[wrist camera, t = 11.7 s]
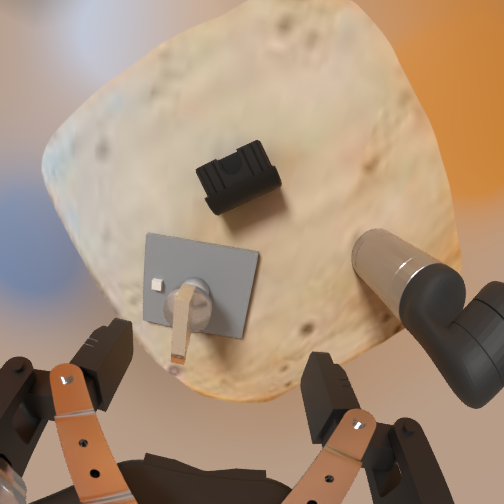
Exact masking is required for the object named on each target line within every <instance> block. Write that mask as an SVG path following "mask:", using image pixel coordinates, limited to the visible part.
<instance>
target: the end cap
mask: <svg viewBox="0 0 504 504" xmlns="http://www.w3.org/2000/svg"><path fill="white" fill-rule="evenodd" d="M236 150H237V152H235V153H233V154H231V155H229V156H227V157H225V158H223V159H221V160H216V159H215V160H213V161H211V162H209V163H207V164H205V165H203V166H201V167H199V168H197V169H196V173H197V176H198V178H199V180H200V182H201V184H202V186H203V188H204V190H205V192H206V194H207V197H206V198H205V201H206V202H207V204H208V206H209V207H210V209H211V210H212V212H213V213H214V214H215V215H220V214H222V213H224V212H226V211H228V210H230V209H233V208H235V207H237V206H239V205H241V204H243V203H245V202H248V201H250V200H252V199H254V198H256V197H258V196H261V195H263V194H265V193H267V192H269V191H272V190H274V189H276V188H278V187H281V185H282V183H281V179H280V177H279V174H278V172H277V169H276V167H275V166H272V165H271V163H270V161H269V159H268V157H267V155H266V152H265V150H264V148H263V146H262V144H261V142H260V141H258V140H256V141H253V142H251V143H249V144H247V145H244V146H242V147H240V148H238V149H236Z"/></svg>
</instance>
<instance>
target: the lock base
mask: <svg viewBox="0 0 504 504" xmlns="http://www.w3.org/2000/svg"><path fill="white" fill-rule="evenodd" d="M258 254H259V253H258V251H253V250H247V249H241V248H235V247H229V246H223V245H218V244H212V243H206V242H200V241H194V240H188V239H182V238H177V237H171V236H165V235H159V234H153V233H148V234H146V245H145V261H144V285H143V320H144V321H148V322H153V323H157V324H162V325H167V326H171V325H170V324H169V323H168V322H167V321H166V319H165V317H164V313H163V306H164V303H165V301H166V299H167V297H168V295H169V294H170V292H171V291H172V290H173V289H174V288H175V287H177V286H180V285H182V284H190V285H195V286H197V287H199V288H201V289H203V290H204V291H205V292H206V293H207V294H208V296H209V297H210V299H211V302H212V312H211V316H210V321H209V323H208V325H207V326H206V327H205V328H204V329H203V330H201V331H199V332H203V333H209V334H214V335H220V336H227V337H233V338H240V339H241V338H242V333H243V328H244V323H245V318H246V313H247V309H248V304H249V299H250V294H251V289H252V284H253V279H254V274H255V269H256V264H257V259H258Z"/></svg>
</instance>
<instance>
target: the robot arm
mask: <svg viewBox="0 0 504 504" xmlns="http://www.w3.org/2000/svg"><path fill="white" fill-rule="evenodd" d="M352 265H353V268H354V270H355V272H356V273H357V274H358V275H359V276H360V277H361V278H362V279H363V280H364V282H365V283H366V284H367V285H368V286H369V287H370V288H371V289H372V290H373V292H374V293H375V294H376V295H377V296H378V297H379V298H380V299H381V300H382V302H383V303H384V304H385V305H386V306H387V307H388V308H389V309H390V311H391V312H392V313H393V314H394V315H395V316H396V317H397V318H398V319H399V321H400V322H401V323H402V324H403V325H404V326H405V328H406V329H407V330H408V331H409V332H410V333H411V334H412V335H413V336H414V338H415V339H416V340H417V341H418V342H419V343H420V345H421V346H422V347H423V348H424V350H425V351H426V352H427V354H428V355H429V357H430V358H431V359H432V361H433V362H434V364H435V365H436V367H437V368H438V370H439V371H440V373H441V374H442V376H443V377H444V379H445V380H446V382H447V383H448V385H449V386H450V388H451V389H452V390H453V392H454V393H455V394H456V395H457V397H458V398H459V399H460V400H461V401H462V402H463V403H464V404H465V405H467V406H469V407H471V408H474V409H478V408H481V407H483V406H484V405H486V404H487V403H488V402H489V401H490V400H491V399H492V398H493V397H494V396H495V395H496V394H497V393H498V392H499V391H500V390H501V389H502V388H503V387H504V283H502V282H498V281H492V282H490V283H488V284H487V285H486V286H484V287H483V288H482V289H481V291H480V292H479V293H478V294H477V295H476V296H475V298H474V299H473V300H472V301H471V302H470V303H469V304H468V305H467V306H466V307H465V308H464V310H463V307H464V303H465V298H466V289H465V284H464V281H463V279H462V277H461V276H460V275H459V273H458V272H456V271H455V270H454V269H452V268H450V267H449V266H447V265H446V264H444V263H442V262H441V261H439V260H437V259H436V258H434V257H432V256H430V255H429V254H427V253H425V252H424V251H422V250H420V249H418V248H417V247H415V246H413V245H411V244H410V243H408V242H406V241H404V240H402V239H401V238H399V237H397V236H395V235H393V234H392V233H390V232H388V231H386V230H383V229H374V230H370V231H368V232H366V233H365V234H363V235H362V236H361V237H360V238H359V239H358V241H357V242H356V244H355V246H354V248H353V251H352ZM462 310H463V311H462ZM132 356H133V331H132V322H131V321H127V320H123V319H119V318H115V319H114V320H113V321H112V322H111V324H110V325H109V326H108V327H106V326H102V327H100V328H98V329H96V330H95V331H94V332H93V333H92V334H91V335H90V337H89V339H87V341H86V342H85V344H83V346H82V347H81V348H80V350H79V351H78V352H77V353H76V355H75V356H74V358H73V359H72V360H71V361H70V363H64V364H60V365H57V366H55V367H54V368H53V369H52V370H51V371H44V370H37V369H33V366H32V363H31V361H30V360H28V359H27V358H25V357H13V358H11V359H9V360H8V361H7V362H6V363H5V364H4V365H3V367H2V368H1V369H0V504H26V491H27V489H26V485H25V483H24V481H23V479H22V476H23V474H24V471H25V469H26V467H27V464H28V462H29V460H30V458H31V455H32V453H33V451H34V449H35V447H36V444H37V442H38V440H39V438H40V436H41V434H42V432H43V430H44V428H45V426H46V424H47V422H48V420H51V421H55V423H56V427H57V431H58V436H59V439H60V443H61V447H62V450H63V454H64V457H65V460H66V463H67V466H68V469H69V472H70V475H71V478H72V481H73V484H74V485H73V486H70V487H68V488H66V489H63V490H61V491H59V492H56V493H54V494H52V495H49V496H47V497H45V498H42V499H39V500H37V501H34V502H31V503H29V504H341V502H342V501H343V499H344V497H345V496H346V494H347V492H348V490H349V489H350V487H351V485H352V483H353V481H354V479H355V478H356V476H357V474H358V472H359V470H360V468H365V471H366V475H367V479H368V483H369V487H370V491H371V495H372V500H373V504H454V501H453V499H452V496H451V493H450V491H449V488H448V486H447V483H446V481H445V479H444V476H443V474H442V472H441V469H440V467H439V464H438V462H437V460H436V458H435V455H434V453H433V451H432V449H431V447H430V445H429V442H428V440H427V438H426V436H425V434H424V432H423V430H422V427H421V426H420V424H419V423H418V422H416V421H415V420H413V419H411V418H400V419H398V420H397V421H396V422H395V423H394V425H389V424H383V423H378V422H376V421H375V418H374V417H373V416H372V415H371V414H370V413H369V412H367V411H365V410H362V409H361V408H360V405H359V403H358V401H357V398H356V396H355V393H354V391H353V388H352V387H351V384H350V381H348V377H347V375H346V372H345V371H344V370H343V369H342V367H341V366H340V365H339V364H333V361H332V359H331V356H330V354H329V353H326V352H312V353H311V354H310V356H309V359H308V362H307V364H306V367H305V370H304V372H303V375H302V378H301V393H302V397H303V402H304V406H305V411H306V416H307V420H308V425H309V429H310V434H311V439H312V443H313V444H322V447H323V449H322V450H321V451H320V453H319V454H318V456H317V457H316V459H315V460H314V461H313V463H312V464H311V466H310V467H309V468H308V470H307V471H306V472H305V474H304V475H303V476H302V478H301V479H300V480H299V481H298V483H297V484H296V485H295V486H294V488H293V489H291V488H290V487H288V486H286V485H284V484H283V483H281V482H278V481H276V480H273V479H270V478H266V470H249V469H228V470H217V471H203V470H200V469H197V468H195V467H192V466H189V465H187V464H184V463H182V462H179V461H177V460H175V459H169V458H165V457H161V456H156V455H152V454H149V453H146V454H145V458H144V460H129V461H123V462H120V463H117V464H116V462H115V460H114V457H113V456H112V453H111V451H110V448H109V446H108V444H107V441H106V439H105V437H104V434H103V431H102V429H101V426H100V424H99V421H98V418H97V416H96V411H97V409H99V410H102V411H105V412H106V410H107V409H108V406H109V404H110V402H111V400H112V398H113V396H114V394H115V392H116V390H117V388H118V386H119V384H120V382H121V380H122V378H123V376H124V374H125V372H126V370H127V368H128V366H129V364H130V362H131V360H132ZM397 463H398V464H397ZM398 466H399V467H398ZM399 468H400V470H399ZM400 471H401V473H400ZM401 475H402V476H401Z"/></svg>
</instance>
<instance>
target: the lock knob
mask: <svg viewBox="0 0 504 504" xmlns="http://www.w3.org/2000/svg"><path fill="white" fill-rule="evenodd" d="M211 312H212V302H211V299H210V297H209V296H208V294H207V293H206V292H205V291H204V290H203V289H201V288H199V287H197V286H195V285H190V284H182V285H180V286H177V287H175V288H174V289H173V290H172V291H171V292H170V294H169V295H168V297H167V299H166V301H165V303H164V306H163V313H164V317H165V319H166V321H167V322H168V323H169V324H170V325H171V326H172V327H173V331H172V351H171V362H173V363H178V364H183V365H184V363H185V358H186V352H187V349H188V345H189V342H190V335H191V333H196V332H199V331H201V330H203V329H204V328H205V327H206V326H207V325H208V323H209V321H210V316H211Z"/></svg>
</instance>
